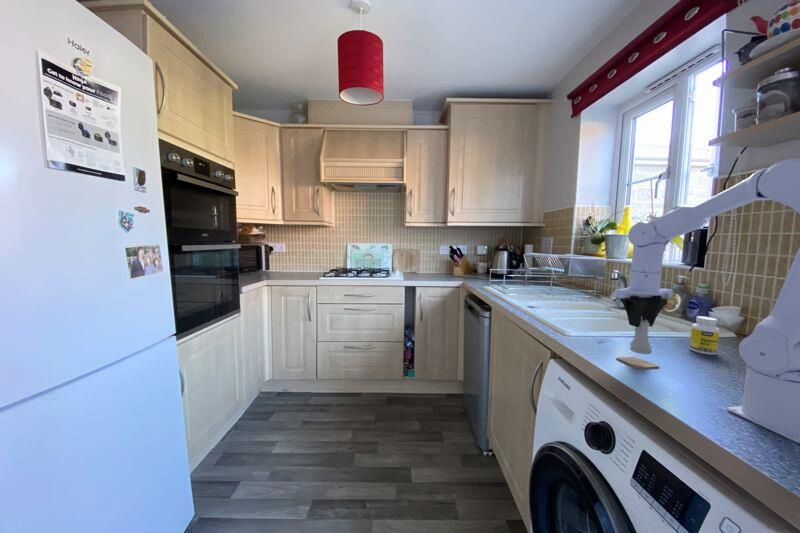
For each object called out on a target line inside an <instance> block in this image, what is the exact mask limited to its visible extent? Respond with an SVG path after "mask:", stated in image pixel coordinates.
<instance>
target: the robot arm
mask: <svg viewBox="0 0 800 533" xmlns="http://www.w3.org/2000/svg"><path fill="white" fill-rule="evenodd" d="M758 201H774V202H777V203H779V204H782V205H784V206H788V207H789V208H792V209H793V210H794V211H795V212H796V213H798V214H799V215H800V158H789V159H785V160H781V161H779V162H776V163H774V164H772V165H771V166H769V167H768V168H763V169H761V170H758V171H755V172H754V173H752V174H751V175H750V176H749V177H747V178H746V179H744V180H742V181H741V182H738V183H737V184H734V185H733V186H731V187H729V188H727V189H725V190H723V191H722V192H719V193H717V194H716V195H714V196H711V197H710V198H707V199H706V200H703V201H702V202H700V203H698V204H696V205H690V204H683V205H681V204H680V205H675V206H673V207H671V210H670V211H668V212H667V213H665V214H662V215H659V216H655V217H652V218H651V220H650V221H648V222H646V221H645V222H644V221H637V222H636V223H635V224H634V225H632V226H631V227H630V228H629V231H628V233H627V237H628V241H629V243H630V244H631V245H633V246H632V255H631V256H632V258H631V266H630V279H629V286H627V287H626V288H615V289H614V298H618V299H619V300H620V302H621V303H622V305H623V308H624V310H625V312H626V316H627V319H628V320H627V321H628V325H629V326H632V327H634V328H635V327H639V326H640V323H641V319H643V321H644V320H647V321H648V323H649V324H650V326H649V327H653V326H654V324H655V322H656V319H657V317H658V315H659V313H660V312H661V311H662V309H663V308H664V307H665V306H666V305H667V304H668V299H667V298H673V293H674V289H670V288H661V280H662V268H663V259H664V253H665V252H666V247H667V245H668V244H669V243H670V242H671V241H672V239H675V238H678V237H680V236H683V235H686V234H688V233H690V232H694V231H695V230H698V229H701V228H702V227H703V225H704V224H705V221H706V220H707V219H710V218H713V217H715V216H718V215H720V214H724V213H726V212H729V211H732V210H735V209H738V208H739V207H740V208H741V207H743V206H746V205H748V204H751V203H754V202H758ZM738 353H739V355H740V357H741V359H742V360H743V362H744V363H745V364H746V373H745V374H746V375H745V380H744V390H743V395H742V402H741V403H742V404H741V405H739V406H737V405H736V406H727V408H726V410H727V411H729V412H731V413H733V414H735V415H737V416H739V417H742V418H744V419H746V420H747V421H750V422H752V423H755V424H756V425H758V426H760V427H763V428H765V429H767V430H769V431H772V432H774V433H776V434H778V435H781V436H782V437H784V438H787V439H789V440H791V441H794V442H796V443H798V444H800V246H799V248H798V250H797V252H796V254H795V256H794V259H793V262H792V264H791V266H790V269H789V270H788V274H787V275H786V278H785V280H784V283H783V285H782V287H781V290H780V292H779V294H778V297H777V298H776V302H775V304H774V306H773V309H772V311H771V313H770V315H768V316H767V317H765V318H764V319H763V320H761V321H760V322H759V323H757V324H756V325H755V327H754V329H753V330H752V333H751V334H749V335H748V336H746V337H745V338H743V339H742V340H741V341H740V343H739V345H738Z"/></svg>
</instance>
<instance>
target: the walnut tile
mask: <svg viewBox="0 0 800 533" xmlns="http://www.w3.org/2000/svg"><path fill="white" fill-rule="evenodd" d="M615 360H617V361H619V362H621V363H623V364H625V365H628V366H629V367H630V368H633V369H636V370H651V369H652V370H654V369H655V370H656V369H660V366H659V365H657V364H655V363H653V362H650V361H648V360H645V359H643V358H641V357H638V356H626V357H625V356H623V357H622V356H621V357H616V358H615Z"/></svg>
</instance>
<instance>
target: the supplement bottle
mask: <svg viewBox="0 0 800 533" xmlns="http://www.w3.org/2000/svg"><path fill="white" fill-rule="evenodd" d="M695 321H696V323H693V324H692V325H691V330H690V338H689V345H688V346H689V350H691V351H693V352H696V353H699V354H703V355H710V356H711V355H716V354H717V351H718V344H719V338H720V337H719V336H720V328H719V327H717V326H716V325H718V319H717V318H716V317H715V318H714V317H709V316H701V315H699V316H698V315H697V316H696V320H695Z"/></svg>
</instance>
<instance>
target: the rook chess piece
mask: <svg viewBox="0 0 800 533" xmlns="http://www.w3.org/2000/svg"><path fill="white" fill-rule="evenodd" d="M649 327H650V324H649V323H648V321H647V320H644V321H643V319H642V318H641V323H640V326H639V327H635V326H634V336H633V340H632V341H631V342H630V344H629V345H630V347H629V349H630V351H631V352H633V353H637V354H641V355H650V354H652V353H653V350H652V349H653V346H652V345H651V343H650V341H649V335H648V334H649V331H650V330H649V329H648V328H649Z"/></svg>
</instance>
